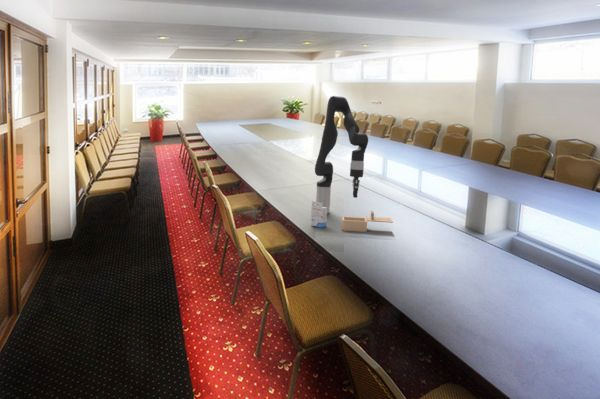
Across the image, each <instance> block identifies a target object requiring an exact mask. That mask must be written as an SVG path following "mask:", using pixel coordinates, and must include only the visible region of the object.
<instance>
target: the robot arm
mask: <svg viewBox="0 0 600 399" xmlns="http://www.w3.org/2000/svg"><path fill="white" fill-rule="evenodd" d="M336 112H337V113H341V114H342V115H343V116H344V117H343V126H344V129H345V130H346V132H347V135H348V140H349V144H351V145H352V146H355V147H358V148H357V149H354V150H352V151H351V160H350V169H349V176H350V177H351V178H353V179H352V190H353V191H352V195H353V198H355V199H356V198H358V193H359V188H360V179H359V178H363V177H364V167H365V163H364V162H365V153H366V149H367V147H368V144H369V137H368V134H366V133H364V132H363V133H361V132H360V127H359V125H358V123H357V121H356V120H355V118H354V116H353V113H352V110H351V107H350V104H349V102H348V99H347V98H346V97H344V96H337V95H331V96H330V97H329V98H328V100H327V107H326V114H325V122H324V129H323V132H322V136H321V143H320V147H319V152H318V155H317V159H316V161H315V165H314V174H315V176H316V177H317V176H318V177H322V178H321V179H320V180H318V181H316V193H315V195H316V197H315V202H319V203H323V207H327V214H329V213H330V211H331V209H330V208H331V192H332V191H331V189H332V183H333V175H334V166H333V164H332V162H331V161H326V159H327V157H328V156H329V154H330V152H332V150H333V149H334V147H335V146H336V143H337V140H338V137H339V136H338V135H339V134H338V133H339V132H338V128H337V125H336V123H335V114H336ZM359 132H360V133H359ZM315 205H319V204H315Z"/></svg>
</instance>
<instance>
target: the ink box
mask: <svg viewBox="0 0 600 399" xmlns="http://www.w3.org/2000/svg"><path fill="white" fill-rule="evenodd" d="M316 204H319V205H316ZM310 214H311V215H310V225H311V226H312V227H317V228H325V227H327V217H328V213H327V207H323V203H319V202H316V201H313V200H312V201H311V211H310Z"/></svg>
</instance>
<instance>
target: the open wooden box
mask: <svg viewBox="0 0 600 399" xmlns="http://www.w3.org/2000/svg"><path fill="white" fill-rule="evenodd" d="M341 218H342V223H341V231H342V232H343V231H344V232H345V231H346V232H348V231H349V232H359V233H366V232H367V231H368V229H367V228H368V221H367V219H366V217H359V216H358V217H357V216H355V217H354V216H342V217H341Z"/></svg>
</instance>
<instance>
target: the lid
mask: <svg viewBox="0 0 600 399" xmlns="http://www.w3.org/2000/svg"><path fill="white" fill-rule="evenodd" d="M365 218H366V219H367V222H371V223H372V222H374V223H390V224H392V223H394V221H393V219H392V218H391V217H381V216H380V217H379V216H375V212H374V211H373V210H370V216H365Z"/></svg>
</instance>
